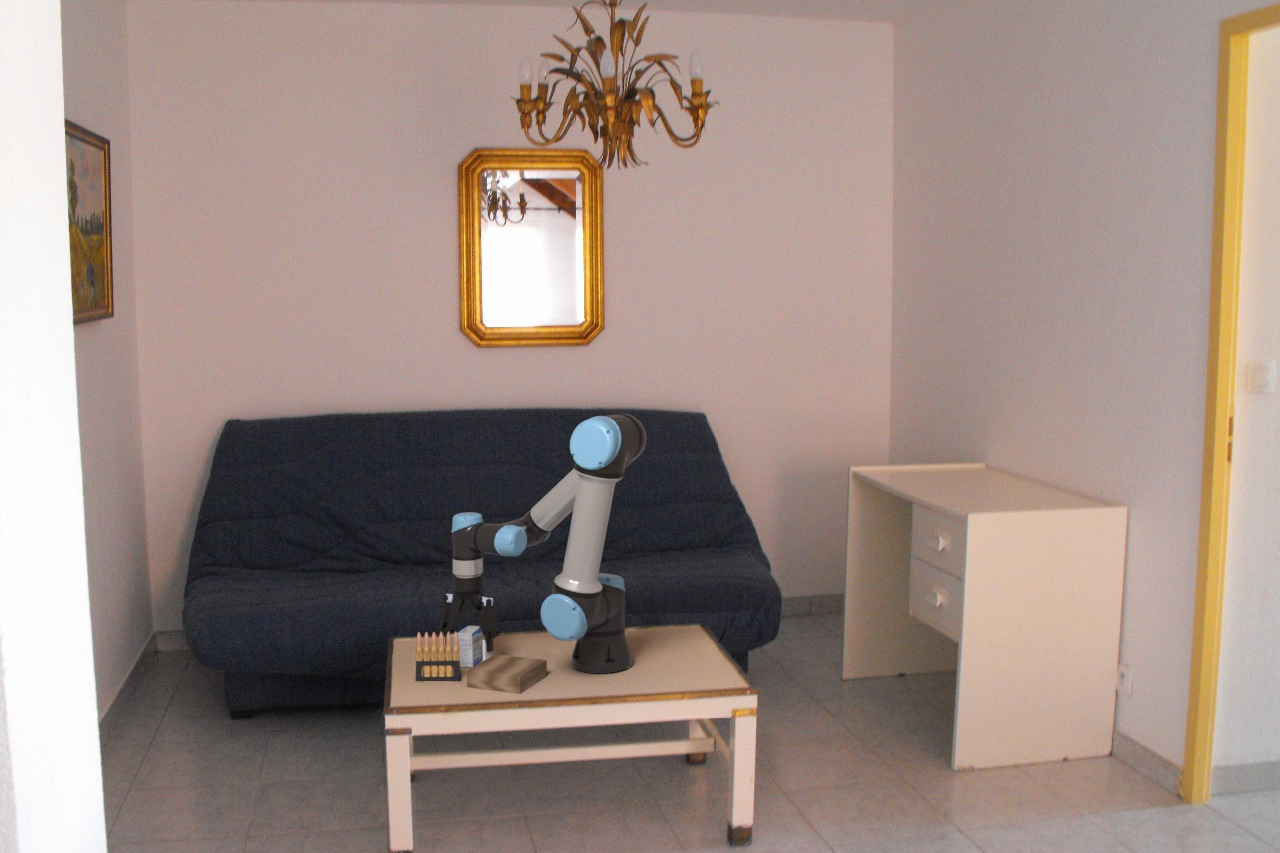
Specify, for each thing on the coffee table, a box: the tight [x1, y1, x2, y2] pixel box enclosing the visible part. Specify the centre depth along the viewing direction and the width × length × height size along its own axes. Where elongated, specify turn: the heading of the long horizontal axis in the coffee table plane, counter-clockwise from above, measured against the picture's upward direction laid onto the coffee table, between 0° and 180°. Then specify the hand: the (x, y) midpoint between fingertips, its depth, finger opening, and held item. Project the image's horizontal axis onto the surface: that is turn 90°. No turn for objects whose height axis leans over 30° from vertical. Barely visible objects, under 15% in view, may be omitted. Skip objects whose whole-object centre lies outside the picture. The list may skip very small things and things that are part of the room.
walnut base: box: [466, 654, 548, 695], centre depth 268 cm, size 14×14×4 cm
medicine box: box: [457, 625, 484, 669], centre depth 283 cm, size 8×4×9 cm, turn 168°
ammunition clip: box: [415, 630, 462, 683], centre depth 269 cm, size 11×2×12 cm, turn 92°
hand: (469, 662), depth 284 cm, fingers open, 9 cm apart
